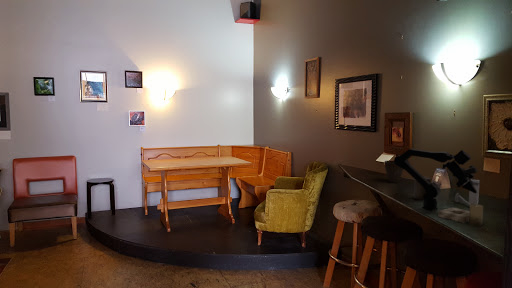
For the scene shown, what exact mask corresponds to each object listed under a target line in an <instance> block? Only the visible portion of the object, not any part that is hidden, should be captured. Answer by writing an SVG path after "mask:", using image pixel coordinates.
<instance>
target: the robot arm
mask: <svg viewBox="0 0 512 288" xmlns="http://www.w3.org/2000/svg"><path fill="white" fill-rule="evenodd" d="M411 157H419V158H425V159H432V160H434V161H436V162H438V163H439V162H440V163H442V170H444V169H448V171H449V172H450V173H451V174H452V177H455V178H456V179H457V181H456V183H455V184H456V186H457V187H458V188H460V187H461V188H462V189H464V190H467V191H468V192H469V191H471V192H473V193H477V191H476V190H475V189H474V187H473V186H472V184H471V179H472V180H475V174H476V173H478V172H479V171H478V170H477V169H478V168H477V167H476V166H474V165H469V166H468V168H466V169H465V168H464V167H461V165H462V166H464V165H465V164H466V163H468V162H469V161H471V160H472V157H471V155H470V154H469V153H468V152H466V151H465V150H464V149H461V150H459V152H457V153H456V154H450V152H448V151H428V150H421V149H415V148H409V149H407V150H406V151H404V152H403V153H401V154H400V155H397V156H395V157H394V158H393V161H394V163H395V164H396V165H397V166H399V167H400V168H402V169H403V171H406V172H407V173H408V174H409V175H410V176H411V177H412V179H414V181H415V180H416V181H417V182H418V183H420V184H421V185H422V186H423V188H424V190H425V192H426V194H424V195H423V198H424V200H423V203H422V204H423V205H422V207H421V208H422V209H424V210H427V211H434V210H437V209H438V202H437V196H439V195H440V193H441V188H440V186H439V184H437V183H436V182H435V181H432V182H429V181H427V180H426V179H425V178H424V177H425V176H423V175H422V174H421V173H420V172H419V170H417V169H415V168H414V166H412V165H411V163H410V161H409V159H410V158H411ZM451 160H452V161H451Z"/></svg>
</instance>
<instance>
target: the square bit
mask: <svg viewBox="0 0 512 288" xmlns="http://www.w3.org/2000/svg"><path fill="white" fill-rule="evenodd" d="M472 179H473V178H471V184H472V186H473V187H474V189H475V190H476V191H477V193H473V192H471V191H469V190H468V203H469V204H477V205H479V197H480V196H479V193H480V183H481V182H480V180H479V179H474V180H472Z"/></svg>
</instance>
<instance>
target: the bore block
mask: <svg viewBox="0 0 512 288" xmlns="http://www.w3.org/2000/svg"><path fill="white" fill-rule="evenodd" d="M469 213H470V210H466V209H462V208H458V207H449V208H445V209H441V210H438V214H437V215H438V216H437V217H438V218H443V219H448V220H450V219H451V221H454V220H455V221H454V222H458V221H459V223H462V224H465V223H469Z"/></svg>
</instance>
